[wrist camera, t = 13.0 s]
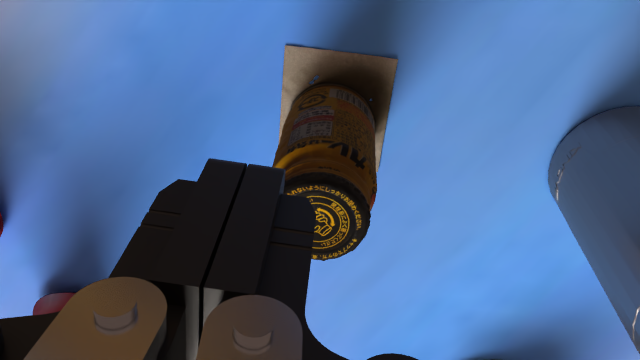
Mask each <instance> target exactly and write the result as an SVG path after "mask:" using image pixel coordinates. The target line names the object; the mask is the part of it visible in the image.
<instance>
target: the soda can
mask: <svg viewBox="0 0 640 360" xmlns="http://www.w3.org/2000/svg"><path fill="white" fill-rule="evenodd" d="M2 232H3V219H2V216H1V213H0V236H1V234H2Z"/></svg>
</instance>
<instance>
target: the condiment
mask: <svg viewBox="0 0 640 360" xmlns="http://www.w3.org/2000/svg"><path fill="white" fill-rule="evenodd" d="M397 62H398V59H392V58H385V57H379V56H372V55H362V54H357V53H348V52H339V51H334V50H333V51H332V50H320V49H313V48H306V47H295V46H286V45H285V53H284V69H283V84H282V99H281V116H280V132H279V145H278V149H277V151H276V153H275V159H274V163H273V166H272V167H274V168H281V169H285V183H284V192H283V194H286V195H293V196H300V197H307V198H308V199H309V201H310V203H311V205H312V207H313V209H314V211H315V212H316V214H317V215H316V223H315V231H314V239H313V247H312V255H311V259H314V260H322V261H325V260H328V259H335V258H338V257H341V256H343V255H345V254H347V253H348V252H350V251H353V250H354V249H355V248H356V247H357V246H358V245H359V244H360V242H361V241H362V240H363V239H364V237H365V236H366V234H367V230H368V228H369V226H370V217H371V214H370V211H371V209H372V207H373V204H374V202H375V198H376V192H377V179H376V178H377V177H376V172H378V167H379V161H380V156H381V150H382V144H383V138H384V133H385V127H386V122H387V118H388V112H389V105H390V100H391V95H392V89H393V83H394V78H395V73H396V67H397ZM316 75H317V76H319V78H318V79H317V80H315V81H314V83H313V84H309V82H310V81H312V80H313V79H314V77H315V76H316ZM370 99H372V101H370Z"/></svg>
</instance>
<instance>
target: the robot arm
mask: <svg viewBox="0 0 640 360" xmlns="http://www.w3.org/2000/svg"><path fill="white" fill-rule="evenodd" d="M284 183H285V169H281V168H274V167H268V166H261V165H254V164H249V165H248V167H247V164H246V163H239V162H232V161H225V160H218V159H211V158H210V159H208V161H207V163H206V165H205V167H204V169H203V171H202V173H201V175H200V177H199V179H198V181H197V182H195V181H188V180H181V179H178V180H177V181H175V182H174V183H172V184H171V185H169V186H168V187H166V188H165V189H163V190H162V191H160V192H159V193H158V195H157V197H156V199H155V200H154V202H153V204H152V205H151V207H150V209H149V213H148V212H147V214H146V215H145V217H144V219H143V220H142V222H141V226H140V227H138V229H137V231H136V232H135V234H134V236H133V237H132V239H131V241H130V242H129V244H128V246H127V247H126V249H125V251H124V253H123V254H122V256H121V258H120V259H119V261H118V263H117V264H116V266H115V268H114V269H113V271H112V273H111V274H110V276H109V278H108V279H103V280H100V281H97V282H94V283H92V284H90V285H88V286H86V287H84V288H83V289H81V290H79V291H78V292H77V293H76V294H74V295H73V296H72V297H71V299H70V300H69V301H68V302H67V303H66V305H65V306H64V307H63V309H62V310H61V311H58V312H54V313H48V314H41V315H32V316H23V317H13V318H4V319H0V360H348V359H346V358H344V357H342V356H339V355H337V354H336V353H334V352H332V351H330V350H329V349H327V348H326V347H324V346H323V345H322V344H321V343H320V342H319V341H318V340H317V339H316V338H315V337H314V336H313V334H312V333H311V331H310V329H309V328H308V325H307V322H306V318H305V304H306V296H307V288H308V280H309V272H310V264H311V255H312V247H313V239H314V231H315V223H316V215H317V214H316V212H315V211H314V209H313V207H312V205H311V203H310V201H309V199H308V198H307V197H300V196H293V195H286V194H283V192H284ZM548 183H549V187H550V192H551V194H552V196H553V198H554V199H555V201H556V203H557V205H558V207H559V209H560V210H561V212H562V214H563V216H564V218H565V220H566V221H567V223H568V225H569V227H570V229H571V231H572V233H573V235H574V237H575V238H576V240H577V242H578V244H579V246H580V247H581V249H582V251H583V253H584V255H585V257H586V258H587V260H588V262H589V264H590V266H591V267H592V269H593V271H594V273H595V275H596V276H597V278H598V280H599V282H600V284H601V286H602V287H603V289H604V291H605V293H606V295H607V296H608V298H609V300H610V302H611V304H612V305H613V307H614V309H615V311H616V313H617V315H618V316H619V318H620V320H621V322H622V324H623V325H624V327H625V329H626V331H627V333H628V334H629V336H630V338H631V340H632V342H633V344H634V345H635V347H636V349H637V351H638V352H639V354H640V106H634V107H621V108H617V109H612V110H608V111H605V112H603V113H600V114H598V115H595V116H593V117H591V118H590V119H588V120H586V121H585V122H583V123H581V124H580V125H578V126H577V127H576V128H575V129H574V130H573V131H571V132H570V133H569V134H568V135H567V136H566V137H565V138H564V140H563V141H562V142H561V143H560V145H559V146H558V147H557V149H556V151H555V153H554V155H553V157H552V159H551V163H550V166H549V170H548ZM367 360H418V359H415V358H413V357H410V356H406V355H402V354H393V353H391V354H381V355H376V356H374V357H371V358H369V359H367Z"/></svg>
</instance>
